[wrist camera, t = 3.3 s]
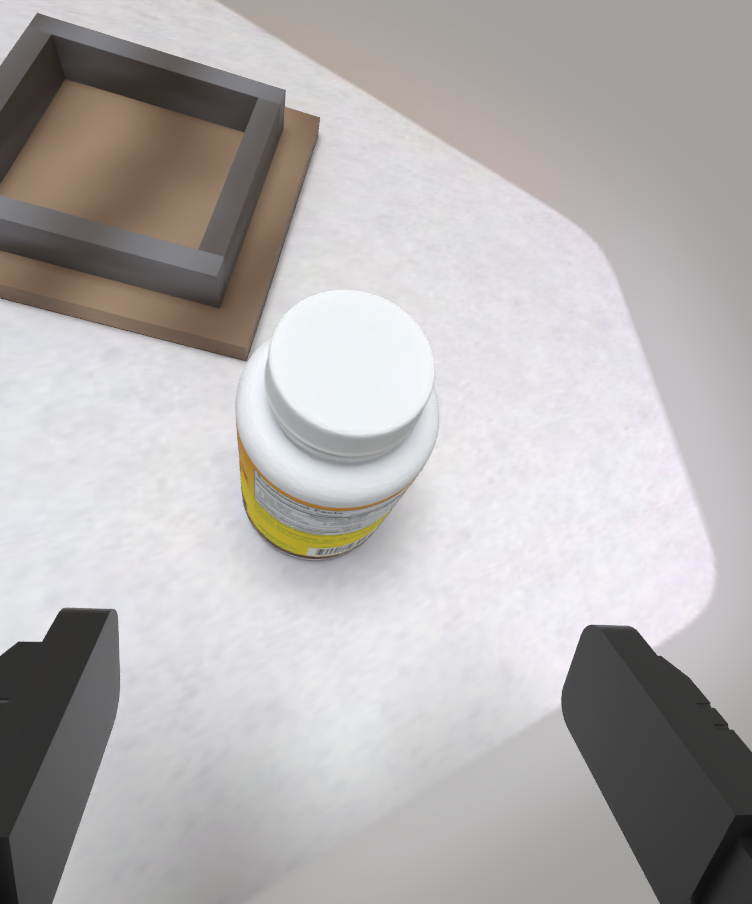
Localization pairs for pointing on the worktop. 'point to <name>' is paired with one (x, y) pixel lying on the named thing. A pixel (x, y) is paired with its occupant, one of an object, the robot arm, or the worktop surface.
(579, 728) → the robot arm
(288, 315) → the supplement bottle
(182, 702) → the worktop surface
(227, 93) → the collar base
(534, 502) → the worktop surface
